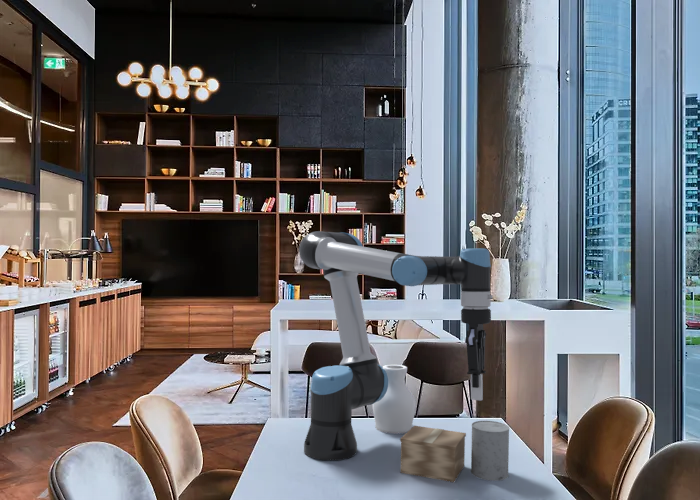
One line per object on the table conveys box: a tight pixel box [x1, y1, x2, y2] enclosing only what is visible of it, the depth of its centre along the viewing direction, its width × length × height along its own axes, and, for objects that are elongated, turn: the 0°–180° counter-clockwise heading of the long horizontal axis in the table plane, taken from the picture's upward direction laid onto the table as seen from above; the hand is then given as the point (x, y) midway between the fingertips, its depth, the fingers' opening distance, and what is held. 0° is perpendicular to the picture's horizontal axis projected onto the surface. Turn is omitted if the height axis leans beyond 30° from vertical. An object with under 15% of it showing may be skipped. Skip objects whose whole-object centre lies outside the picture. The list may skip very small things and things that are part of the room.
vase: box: [371, 364, 417, 435], centre depth 182 cm, size 14×14×20 cm
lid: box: [399, 425, 467, 450], centre depth 147 cm, size 14×12×1 cm
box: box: [400, 437, 466, 483], centre depth 147 cm, size 14×12×8 cm
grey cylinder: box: [470, 420, 510, 482], centre depth 145 cm, size 10×10×12 cm
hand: (476, 399), depth 144 cm, fingers closed
